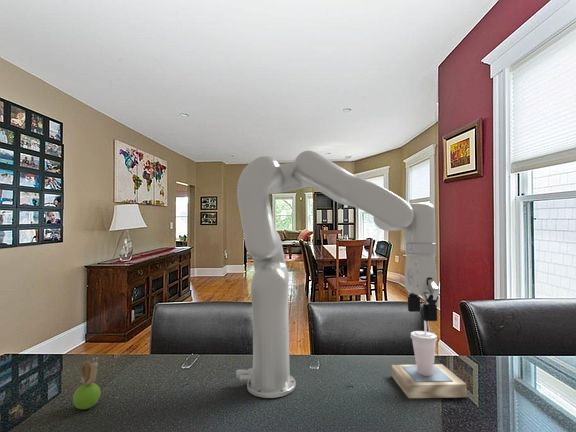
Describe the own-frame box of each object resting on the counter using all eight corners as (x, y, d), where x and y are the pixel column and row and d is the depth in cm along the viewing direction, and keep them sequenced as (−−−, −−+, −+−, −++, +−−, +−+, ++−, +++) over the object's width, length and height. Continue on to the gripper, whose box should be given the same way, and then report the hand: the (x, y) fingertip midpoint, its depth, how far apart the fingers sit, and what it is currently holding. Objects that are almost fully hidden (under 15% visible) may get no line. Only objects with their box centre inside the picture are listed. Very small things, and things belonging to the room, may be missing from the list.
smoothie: (441, 379, 77) (439, 321, 78) (414, 377, 79) (411, 320, 80) (435, 368, 84) (432, 314, 85) (409, 366, 85) (407, 314, 86)
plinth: (408, 398, 75) (408, 384, 75) (391, 376, 87) (391, 364, 87) (467, 397, 75) (466, 383, 75) (442, 375, 87) (441, 363, 87)
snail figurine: (81, 418, 68) (83, 361, 69) (67, 410, 72) (69, 356, 73) (107, 406, 73) (108, 353, 74) (92, 399, 76) (94, 349, 77)
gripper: (395, 248, 92) (395, 308, 91) (420, 251, 74) (421, 325, 73) (420, 248, 92) (421, 308, 91) (451, 251, 74) (453, 325, 73)
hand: (421, 315), depth 82 cm, fingers open, 9 cm apart
